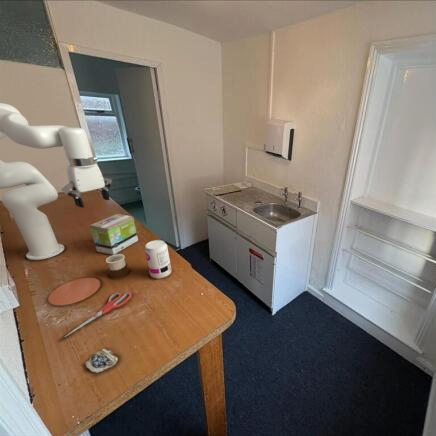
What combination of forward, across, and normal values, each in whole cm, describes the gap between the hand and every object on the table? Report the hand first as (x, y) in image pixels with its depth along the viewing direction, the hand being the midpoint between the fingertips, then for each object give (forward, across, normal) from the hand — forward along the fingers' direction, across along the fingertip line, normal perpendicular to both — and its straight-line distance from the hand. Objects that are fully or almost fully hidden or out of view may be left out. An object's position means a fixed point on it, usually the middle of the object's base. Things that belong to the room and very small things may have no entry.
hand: (94, 203), depth 96 cm
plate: (+28, +19, +9) cm, 35 cm away
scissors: (+28, +22, +29) cm, 46 cm away
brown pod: (+28, +5, +13) cm, 32 cm away
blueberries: (+28, +32, +46) cm, 63 cm away
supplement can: (+28, -3, +28) cm, 40 cm away
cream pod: (+24, +5, +13) cm, 28 cm away
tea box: (+28, -9, -8) cm, 31 cm away
